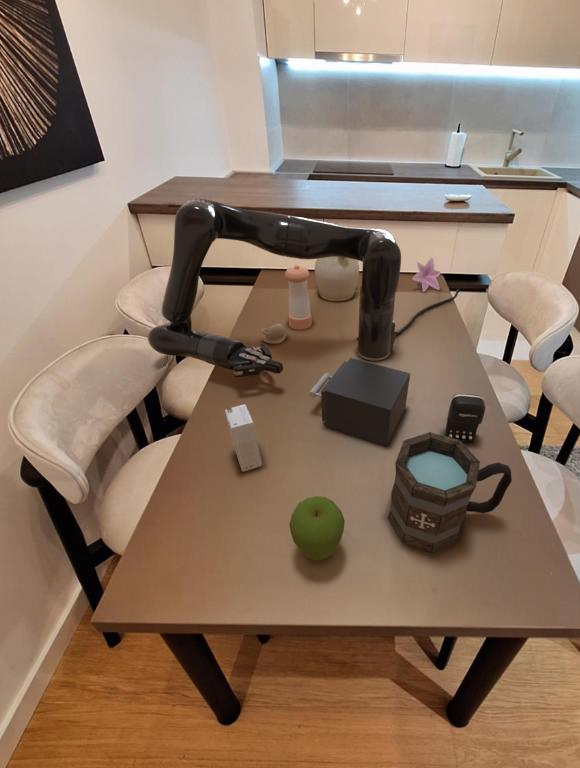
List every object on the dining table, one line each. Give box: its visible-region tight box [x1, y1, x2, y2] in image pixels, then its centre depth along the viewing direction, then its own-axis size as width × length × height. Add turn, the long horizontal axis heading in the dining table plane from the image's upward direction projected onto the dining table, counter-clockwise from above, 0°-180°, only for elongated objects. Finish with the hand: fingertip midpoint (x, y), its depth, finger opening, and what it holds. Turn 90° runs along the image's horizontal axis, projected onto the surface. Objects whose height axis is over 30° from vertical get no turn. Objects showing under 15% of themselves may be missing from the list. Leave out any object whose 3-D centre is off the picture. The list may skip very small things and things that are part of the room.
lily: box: [411, 257, 442, 293], centre depth 149 cm, size 12×12×10 cm
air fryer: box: [325, 357, 411, 447], centre depth 90 cm, size 15×14×11 cm
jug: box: [314, 222, 360, 302], centre depth 136 cm, size 15×16×25 cm
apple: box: [288, 495, 345, 561], centre depth 63 cm, size 9×8×12 cm
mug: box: [387, 431, 513, 554], centre depth 68 cm, size 20×14×15 cm
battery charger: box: [443, 393, 486, 443], centre depth 85 cm, size 7×4×11 cm, turn 83°
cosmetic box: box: [224, 403, 263, 472], centre depth 78 cm, size 6×4×12 cm
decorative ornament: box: [260, 323, 287, 345], centre depth 117 cm, size 4×8×5 cm, turn 129°
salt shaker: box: [284, 264, 313, 331], centre depth 120 cm, size 7×7×19 cm
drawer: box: [308, 360, 348, 423], centre depth 91 cm, size 18×12×9 cm
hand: (281, 368), depth 95 cm, fingers closed
